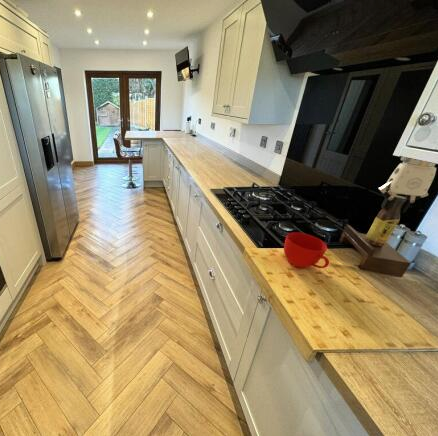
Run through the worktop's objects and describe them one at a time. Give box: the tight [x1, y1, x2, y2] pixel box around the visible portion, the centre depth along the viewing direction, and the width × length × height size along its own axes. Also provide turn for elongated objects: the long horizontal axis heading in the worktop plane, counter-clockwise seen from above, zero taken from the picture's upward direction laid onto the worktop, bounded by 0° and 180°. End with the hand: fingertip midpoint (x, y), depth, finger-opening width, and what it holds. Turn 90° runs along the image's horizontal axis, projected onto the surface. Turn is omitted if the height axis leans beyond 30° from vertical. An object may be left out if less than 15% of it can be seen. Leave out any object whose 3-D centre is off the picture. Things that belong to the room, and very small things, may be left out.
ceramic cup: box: [283, 232, 330, 269], centre depth 87 cm, size 13×17×10 cm
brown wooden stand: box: [338, 224, 412, 278], centre depth 94 cm, size 13×20×10 cm, turn 164°
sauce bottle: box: [365, 194, 407, 246], centre depth 90 cm, size 7×6×20 cm
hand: (392, 209), depth 88 cm, fingers closed on sauce bottle, 4 cm apart
